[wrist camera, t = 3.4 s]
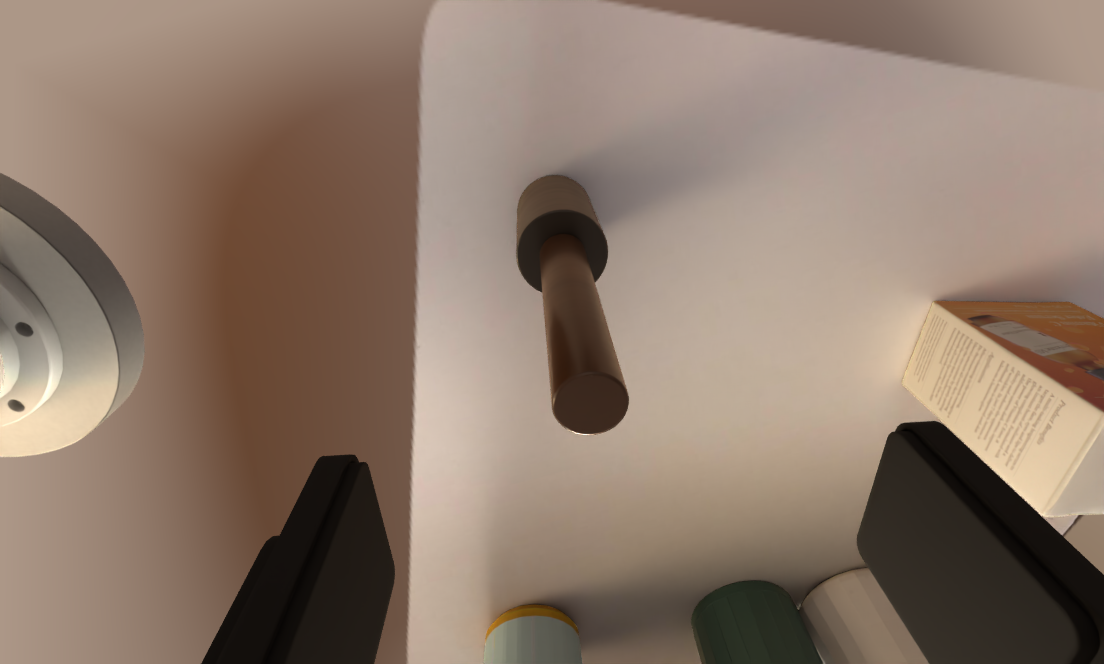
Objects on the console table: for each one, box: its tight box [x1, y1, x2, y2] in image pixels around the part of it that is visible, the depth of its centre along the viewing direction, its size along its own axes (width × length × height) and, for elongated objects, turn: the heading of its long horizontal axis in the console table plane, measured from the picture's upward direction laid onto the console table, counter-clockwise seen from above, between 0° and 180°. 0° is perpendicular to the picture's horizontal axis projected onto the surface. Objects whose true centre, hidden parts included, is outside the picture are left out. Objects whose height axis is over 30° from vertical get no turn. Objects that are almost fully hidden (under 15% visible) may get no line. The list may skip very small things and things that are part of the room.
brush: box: [516, 175, 629, 435], centre depth 20 cm, size 4×4×16 cm
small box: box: [902, 301, 1104, 517], centre depth 27 cm, size 8×6×10 cm
